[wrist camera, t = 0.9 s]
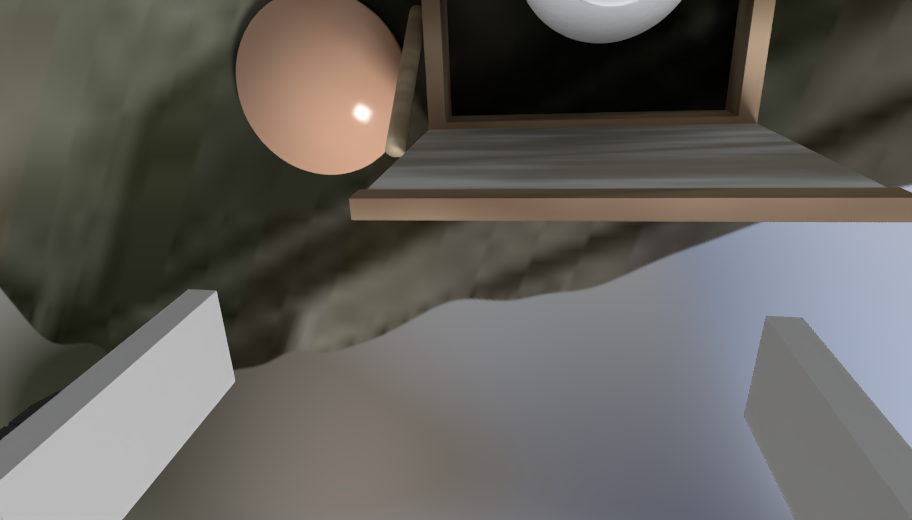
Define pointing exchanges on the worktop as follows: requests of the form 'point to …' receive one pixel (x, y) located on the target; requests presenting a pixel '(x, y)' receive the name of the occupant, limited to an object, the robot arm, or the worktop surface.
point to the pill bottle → (601, 17)
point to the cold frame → (610, 155)
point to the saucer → (319, 82)
